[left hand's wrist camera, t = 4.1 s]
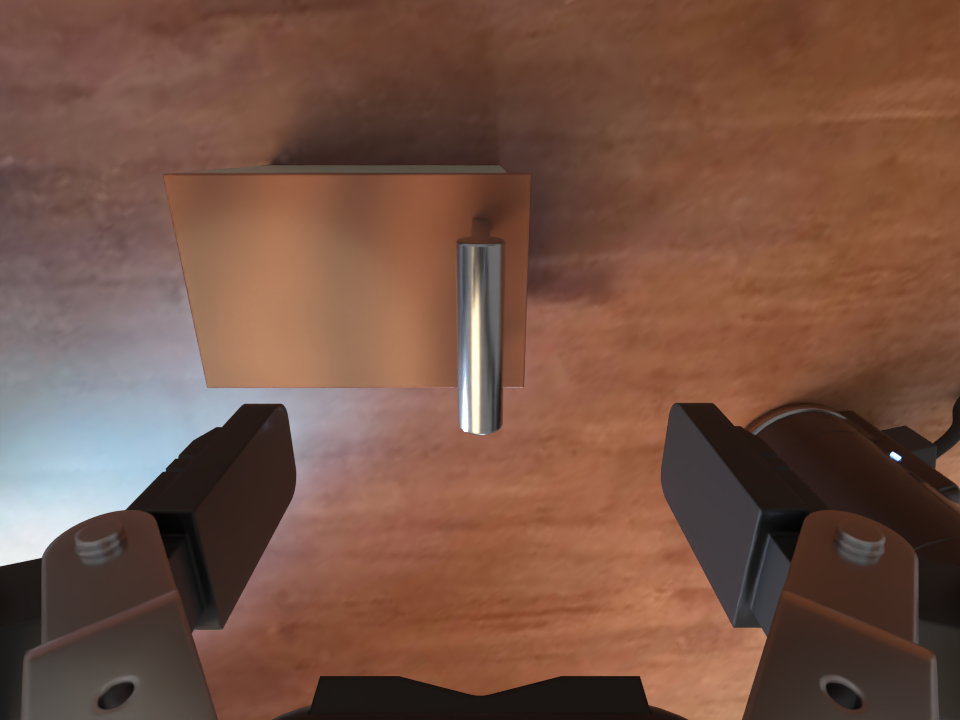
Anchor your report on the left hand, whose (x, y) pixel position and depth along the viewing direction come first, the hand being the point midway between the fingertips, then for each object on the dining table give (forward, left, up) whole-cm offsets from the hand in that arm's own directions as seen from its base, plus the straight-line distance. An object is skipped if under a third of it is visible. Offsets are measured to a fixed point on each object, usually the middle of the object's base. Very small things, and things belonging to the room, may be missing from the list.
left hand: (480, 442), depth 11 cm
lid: (+5, -1, -14) cm, 15 cm away
